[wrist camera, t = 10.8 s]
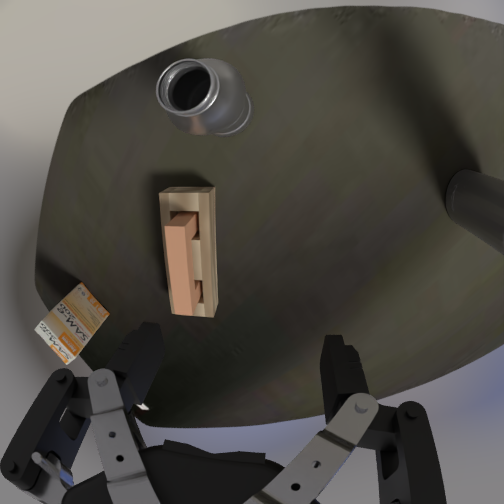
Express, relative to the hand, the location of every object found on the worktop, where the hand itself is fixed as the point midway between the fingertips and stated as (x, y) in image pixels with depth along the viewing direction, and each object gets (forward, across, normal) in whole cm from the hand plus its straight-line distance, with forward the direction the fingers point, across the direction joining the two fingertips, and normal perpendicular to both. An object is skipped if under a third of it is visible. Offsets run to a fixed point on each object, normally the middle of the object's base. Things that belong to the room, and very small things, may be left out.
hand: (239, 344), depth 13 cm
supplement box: (+26, +32, +18) cm, 45 cm away
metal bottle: (+26, +5, -13) cm, 30 cm away
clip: (+25, +10, +6) cm, 28 cm away
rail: (+26, +10, +6) cm, 29 cm away
